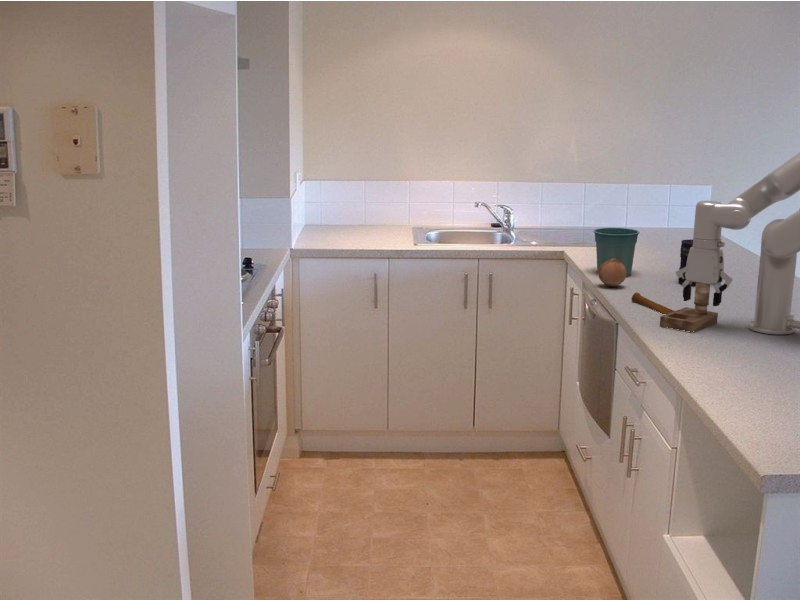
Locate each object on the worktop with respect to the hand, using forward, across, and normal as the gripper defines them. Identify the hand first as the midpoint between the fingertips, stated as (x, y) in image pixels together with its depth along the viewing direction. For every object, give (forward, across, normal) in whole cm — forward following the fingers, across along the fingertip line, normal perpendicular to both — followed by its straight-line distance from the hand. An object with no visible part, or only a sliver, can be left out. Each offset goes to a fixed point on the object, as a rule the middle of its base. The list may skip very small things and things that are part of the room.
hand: (701, 302), depth 276 cm
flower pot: (+6, +55, -46) cm, 72 cm away
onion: (+6, +44, -26) cm, 52 cm away
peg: (+3, 0, 0) cm, 3 cm away
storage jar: (+6, +27, -50) cm, 58 cm away
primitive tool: (+7, +19, -8) cm, 21 cm away
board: (+6, +2, +4) cm, 7 cm away
